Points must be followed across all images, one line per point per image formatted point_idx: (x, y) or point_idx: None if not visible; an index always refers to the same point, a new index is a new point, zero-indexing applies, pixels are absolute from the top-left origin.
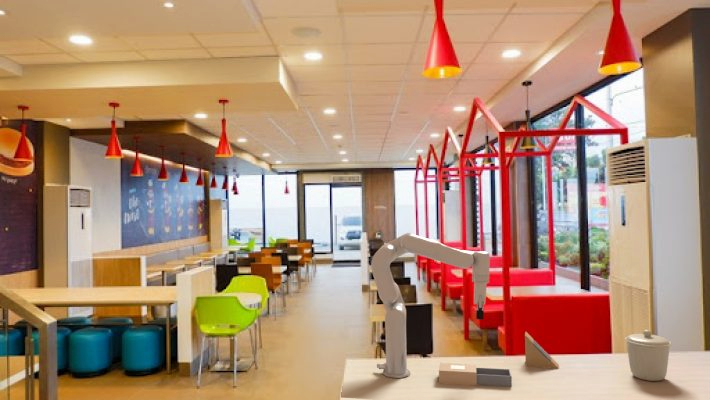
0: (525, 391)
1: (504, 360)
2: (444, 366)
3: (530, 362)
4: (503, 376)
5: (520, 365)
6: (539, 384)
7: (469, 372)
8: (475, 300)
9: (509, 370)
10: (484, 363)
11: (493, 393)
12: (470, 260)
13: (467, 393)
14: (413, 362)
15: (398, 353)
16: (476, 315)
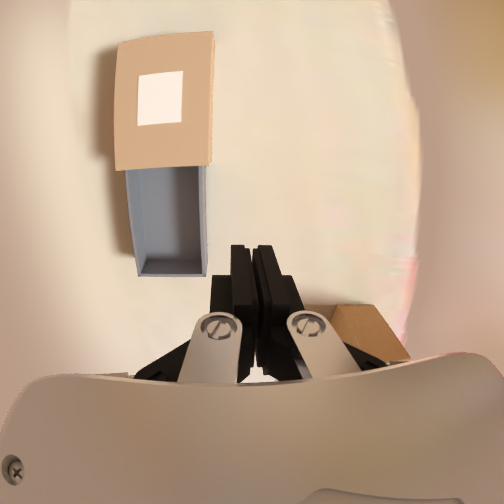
0: (134, 288)
1: (385, 256)
2: (165, 50)
3: (336, 321)
4: (135, 253)
5: (342, 293)
6: (194, 322)
7: (115, 146)
8: (2, 445)
9: (193, 275)
10: (362, 197)
11: (94, 212)
12: None
13: (78, 144)
14: None
15: None
16: (233, 262)
